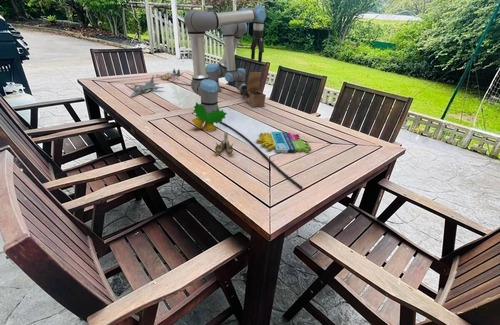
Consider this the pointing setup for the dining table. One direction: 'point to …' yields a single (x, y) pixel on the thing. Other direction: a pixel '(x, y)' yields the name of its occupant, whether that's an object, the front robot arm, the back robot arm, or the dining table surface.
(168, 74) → the toy
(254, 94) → the chest
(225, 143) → the jawbone
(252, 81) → the lid
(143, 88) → the airplane
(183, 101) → the dining table surface
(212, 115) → the ornament
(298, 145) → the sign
